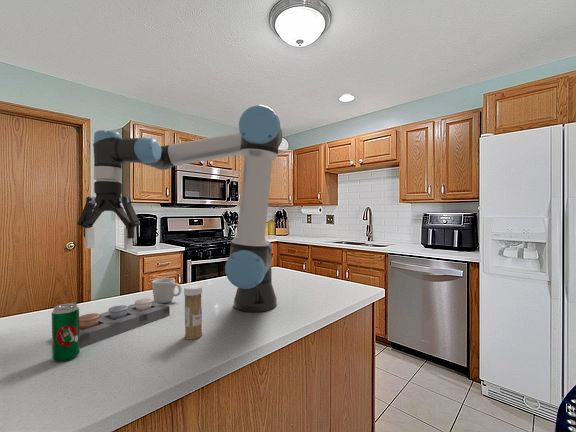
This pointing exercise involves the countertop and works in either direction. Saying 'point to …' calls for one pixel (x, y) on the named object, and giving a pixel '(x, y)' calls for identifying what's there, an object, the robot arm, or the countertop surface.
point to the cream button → (143, 304)
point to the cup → (165, 290)
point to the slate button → (118, 311)
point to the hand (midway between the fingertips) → (108, 248)
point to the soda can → (65, 332)
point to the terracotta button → (88, 320)
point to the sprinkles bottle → (193, 311)
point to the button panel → (122, 323)
